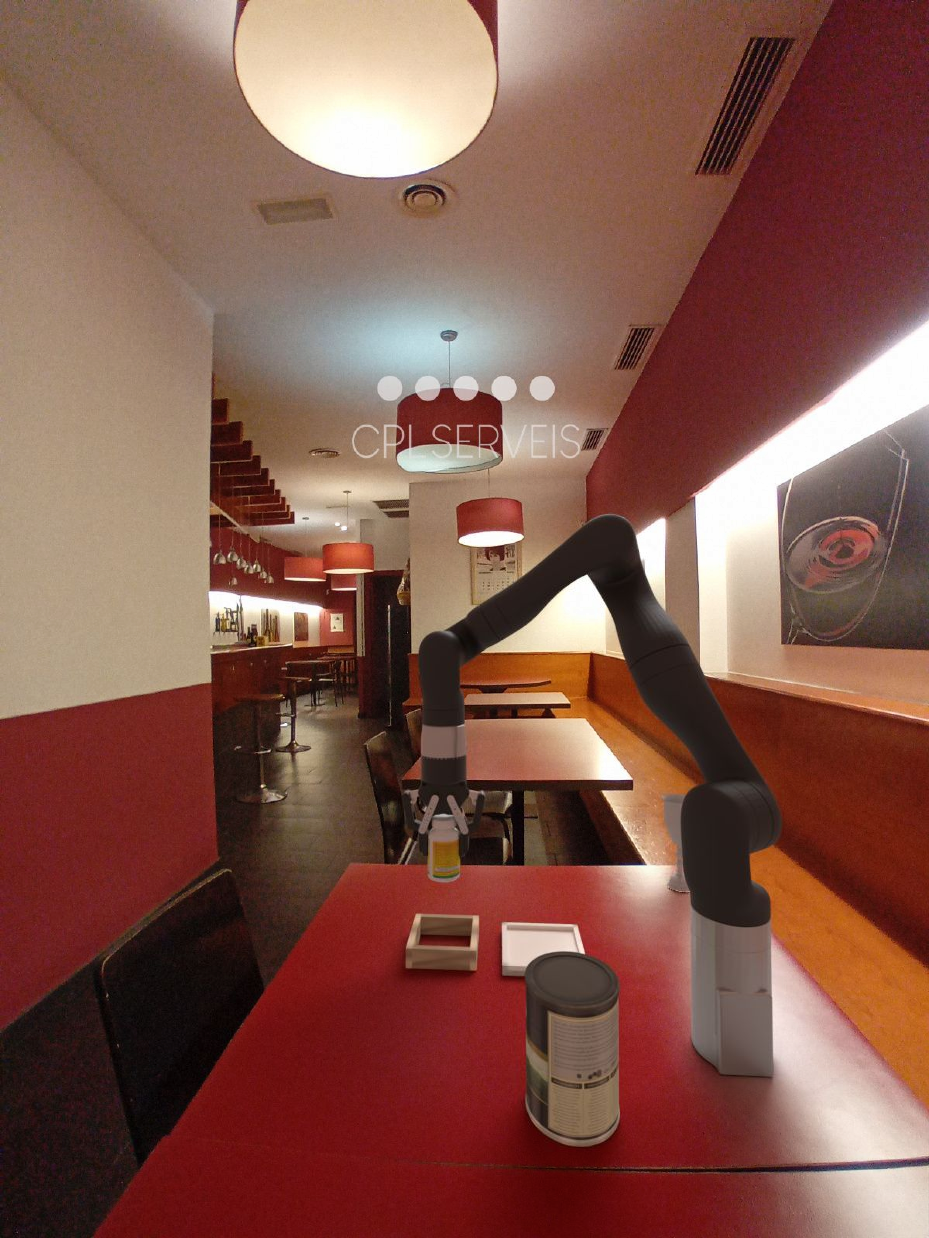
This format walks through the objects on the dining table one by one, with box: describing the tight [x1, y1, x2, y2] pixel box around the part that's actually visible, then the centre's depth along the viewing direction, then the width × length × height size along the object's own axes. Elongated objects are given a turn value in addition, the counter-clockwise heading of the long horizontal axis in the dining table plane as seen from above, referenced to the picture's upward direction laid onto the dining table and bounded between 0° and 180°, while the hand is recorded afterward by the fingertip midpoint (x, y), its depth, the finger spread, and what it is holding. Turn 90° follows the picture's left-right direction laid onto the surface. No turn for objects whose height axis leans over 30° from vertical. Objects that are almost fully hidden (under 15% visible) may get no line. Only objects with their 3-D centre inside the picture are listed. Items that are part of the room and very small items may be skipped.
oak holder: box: [405, 913, 480, 972], centre depth 94 cm, size 11×11×3 cm
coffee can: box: [524, 951, 621, 1148], centre depth 63 cm, size 10×10×14 cm
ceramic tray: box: [501, 921, 586, 977], centre depth 93 cm, size 13×13×2 cm
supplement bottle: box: [427, 814, 461, 883], centre depth 94 cm, size 5×5×10 cm
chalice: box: [661, 793, 689, 892], centre depth 117 cm, size 7×7×18 cm
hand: (444, 854), depth 94 cm, fingers closed on supplement bottle, 5 cm apart
